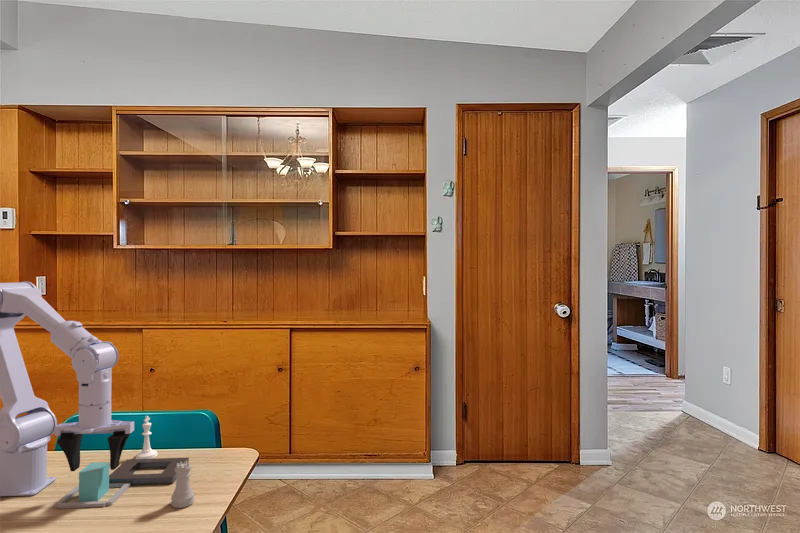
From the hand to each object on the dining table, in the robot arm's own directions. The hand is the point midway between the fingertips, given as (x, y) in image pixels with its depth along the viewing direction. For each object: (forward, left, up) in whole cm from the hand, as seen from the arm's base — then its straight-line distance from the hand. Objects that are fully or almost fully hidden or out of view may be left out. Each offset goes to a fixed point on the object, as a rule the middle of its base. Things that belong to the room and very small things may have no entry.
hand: (94, 468), depth 101 cm
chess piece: (+2, +21, -6) cm, 22 cm away
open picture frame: (0, 0, -6) cm, 6 cm away
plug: (0, 0, -6) cm, 6 cm away
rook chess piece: (+19, -5, -6) cm, 20 cm away
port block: (+7, +10, -6) cm, 13 cm away
